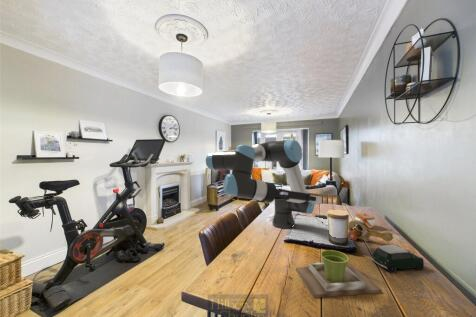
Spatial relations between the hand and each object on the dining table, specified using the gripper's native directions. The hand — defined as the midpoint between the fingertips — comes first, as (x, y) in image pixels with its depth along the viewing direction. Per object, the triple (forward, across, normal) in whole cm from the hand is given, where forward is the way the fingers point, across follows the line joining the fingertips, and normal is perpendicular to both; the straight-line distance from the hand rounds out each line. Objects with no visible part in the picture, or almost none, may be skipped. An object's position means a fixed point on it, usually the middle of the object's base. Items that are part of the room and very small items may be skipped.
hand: (309, 200), depth 81 cm
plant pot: (+10, +4, -28) cm, 30 cm away
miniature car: (+42, +4, -21) cm, 47 cm away
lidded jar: (+69, -33, -7) cm, 77 cm away
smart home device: (+54, -53, -7) cm, 76 cm away
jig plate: (+11, +3, -28) cm, 30 cm away
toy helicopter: (+51, -17, -14) cm, 56 cm away
